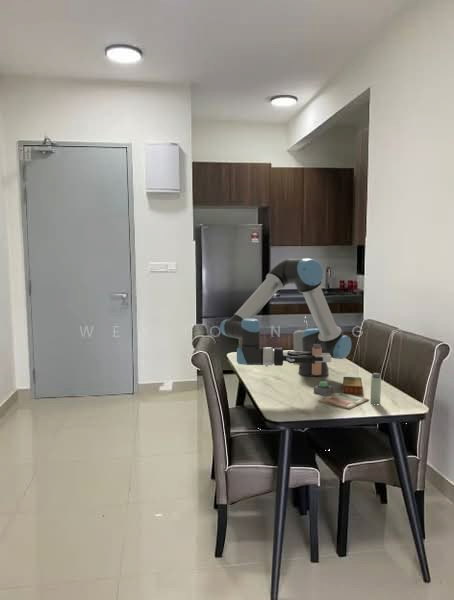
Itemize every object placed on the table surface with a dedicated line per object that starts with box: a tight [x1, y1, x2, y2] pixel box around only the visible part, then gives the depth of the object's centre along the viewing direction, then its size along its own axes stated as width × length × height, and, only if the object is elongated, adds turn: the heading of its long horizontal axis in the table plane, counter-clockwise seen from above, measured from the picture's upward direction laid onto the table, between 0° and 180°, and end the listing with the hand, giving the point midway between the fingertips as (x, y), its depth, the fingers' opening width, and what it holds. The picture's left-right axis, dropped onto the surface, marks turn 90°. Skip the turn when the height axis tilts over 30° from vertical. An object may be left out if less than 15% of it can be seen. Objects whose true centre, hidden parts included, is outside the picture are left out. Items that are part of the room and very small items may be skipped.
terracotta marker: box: [312, 344, 322, 375], centre depth 191 cm, size 4×4×12 cm
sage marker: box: [369, 372, 382, 406], centre depth 187 cm, size 4×4×12 cm
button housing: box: [313, 384, 334, 396], centre depth 203 cm, size 6×6×2 cm
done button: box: [319, 380, 328, 388], centre depth 203 cm, size 3×3×2 cm
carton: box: [342, 376, 363, 396], centre depth 207 cm, size 8×16×4 cm, turn 165°
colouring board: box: [318, 391, 370, 410], centre depth 190 cm, size 16×14×1 cm
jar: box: [292, 315, 314, 352], centre depth 270 cm, size 19×15×25 cm
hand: (330, 357), depth 190 cm, fingers closed on terracotta marker, 4 cm apart
